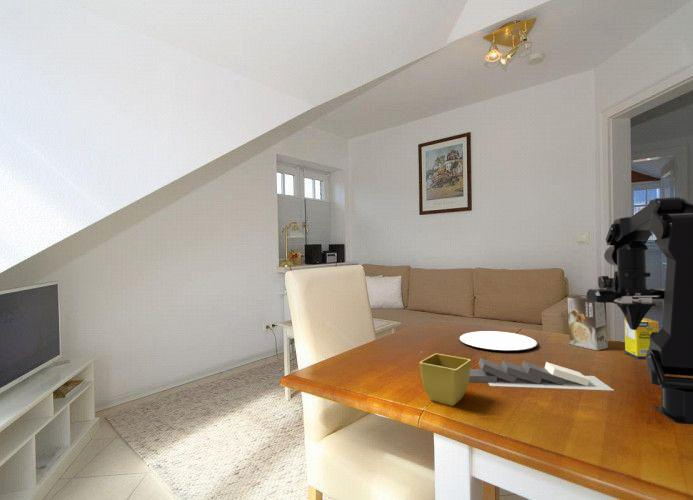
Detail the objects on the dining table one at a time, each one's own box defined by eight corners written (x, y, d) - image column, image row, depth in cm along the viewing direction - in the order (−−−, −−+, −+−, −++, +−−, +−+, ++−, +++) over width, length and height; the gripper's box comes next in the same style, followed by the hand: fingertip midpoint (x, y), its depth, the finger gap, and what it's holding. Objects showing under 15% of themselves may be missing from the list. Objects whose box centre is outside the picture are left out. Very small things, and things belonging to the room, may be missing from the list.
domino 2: (516, 377, 85) (484, 364, 87) (513, 383, 86) (481, 369, 87) (510, 370, 90) (480, 357, 92) (508, 376, 90) (478, 363, 92)
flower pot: (436, 389, 84) (435, 352, 84) (472, 398, 79) (471, 358, 79) (419, 402, 78) (418, 362, 78) (457, 413, 72) (456, 370, 72)
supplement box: (660, 359, 100) (659, 321, 100) (636, 359, 102) (635, 321, 102) (647, 353, 106) (646, 317, 106) (624, 352, 107) (623, 317, 107)
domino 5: (589, 379, 82) (554, 368, 84) (587, 386, 83) (552, 374, 84) (579, 372, 87) (546, 361, 89) (577, 378, 88) (544, 367, 89)
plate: (445, 339, 131) (445, 334, 131) (500, 332, 138) (500, 328, 138) (492, 358, 107) (492, 353, 107) (555, 349, 114) (555, 344, 114)
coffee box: (609, 348, 113) (607, 298, 113) (597, 351, 110) (595, 300, 110) (579, 341, 121) (578, 295, 121) (568, 344, 118) (566, 297, 118)
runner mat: (614, 392, 80) (614, 390, 80) (489, 387, 85) (489, 385, 85) (594, 377, 89) (593, 376, 89) (482, 374, 94) (482, 372, 94)
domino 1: (496, 376, 86) (462, 376, 88) (496, 382, 86) (463, 382, 88) (491, 369, 91) (460, 369, 93) (492, 375, 91) (460, 375, 93)
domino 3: (541, 378, 84) (507, 367, 86) (539, 384, 84) (505, 373, 86) (534, 370, 89) (502, 360, 91) (532, 376, 89) (500, 366, 91)
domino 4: (564, 379, 84) (529, 367, 85) (562, 385, 84) (527, 373, 85) (555, 371, 88) (523, 360, 90) (553, 377, 89) (521, 366, 90)
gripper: (652, 265, 95) (653, 323, 95) (576, 266, 98) (577, 322, 98) (683, 267, 84) (685, 333, 84) (597, 269, 87) (598, 332, 87)
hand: (633, 329), depth 88 cm, fingers closed
